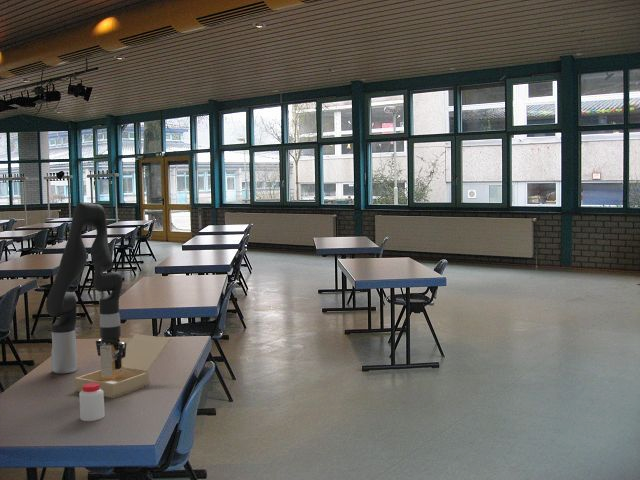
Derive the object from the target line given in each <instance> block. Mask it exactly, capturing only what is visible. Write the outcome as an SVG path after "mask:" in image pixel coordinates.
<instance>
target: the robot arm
mask: <svg viewBox="0 0 640 480" xmlns="http://www.w3.org/2000/svg"><path fill="white" fill-rule="evenodd" d="M84 227H91V228H95V230H96V236H95V238H94V240H93V242H92V245H91V249H90V256H91V259H92V265H93V271H94V273H93V275H94V276H93V283H92V284H93V289H95V290H96V291H97V292H98V293H99V292H110V294H109V295H107V296H105V297H101V298H100V299H99V305H98V306H99V307H98V308H99V318H98V319H99V337H100V338H101V339H98V340H95V345H96V350H97V351H96V352H97V356H98V357H101V355H100V346H102V345H106V344H108V345H114V349H115V350H117V349H118V351H113V352H114V356H115V369H117V370H118V369H120V368H121V359H122V358H124V357H125V354H126V346H127V342H126V341H125V342H122V341H121V339H120V337H121V335H122V334H121V333H122V332H121V331H122V330H121V316H120V305H119V304H120V302H119V301H120V294H121V292H122V291H121V290H122V286H123V283H124V282H123V276H122V274H121V273H120V272H118V271H110V272H107V271H109V270H111V269H112V268H113V266H114V261H113V258H112V254H111V251H110V250H111V249H110V246H109V241H108V237H109V236H108V226H107V215H106V210H105V208H104V206H103V205H101V204H98V203H89V202H79V203H77V204H76V206H75V208H74V210H73V214H72V219H71V223H70V228H69V232H68V233H69V234H68V237H67V240H66V244H65V247H64V250H63V251H62V252H63V253H62V256H61V259H60V261H59V262H60V263H59V266H58V270H57V272H56V276H55V279H54V281H53V284H52V285H51V288H50V290H49V292H48V295H47V297H46V300H45V309H46V310H45V311H46V313H47V314H48V315H49V316H51V317H58V316H59V318H58V320H56V321H55V322H54V323H52V325H51V342H52V348H51V350H50V354H51V355H50V356H51V372H53V373H55V374H58V375H59V374H69V373H75V372H76V371H77V370H78V363H77V361H78V360H77V342H76V337H77V336H76V324H77V309H78V308H77V300H76V296H75V295H74V293H72V292H70V291H68V290H69V288H70V286H71V285H72V284H73V283H75V281H76V279H77V278H78V277H79V276H80V274H81V273H82V272H83V270H84V267H85V264H86V261H87V258H88V254H87V253H88V252H87V249H86V247H85V244H84V242H83V239H82V238H83V237H82V231H83V229H84ZM117 354H118V356H117Z"/></svg>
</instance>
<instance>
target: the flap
mask: <svg viewBox="0 0 640 480" xmlns="http://www.w3.org/2000/svg"><path fill="white" fill-rule="evenodd" d="M171 340H172V338H171V337H163V336H155V335H147V334H140V333H135V334H134V335H133V337H132V338H131V339H130V341H129V342H128V343H127V344H126V354H125V357H124V358H122V368H123V369H130V370H136V371H143V372H148V373H149V370H150V369H151V368H152V366H153V365H154V363H155V362H156V361H157V359H158V358H159V356H160V355H161V354H162V353H163V351H164V350H165V348H166V347H167V346H168V344H169V343H170V342H171Z"/></svg>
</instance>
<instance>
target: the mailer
mask: <svg viewBox="0 0 640 480" xmlns="http://www.w3.org/2000/svg"><path fill="white" fill-rule="evenodd" d="M122 369H123V374H122V375H120V376H118V377H116V378H115V379H113V380H102V376H101V369H100V370H99V369H98V370H96V371H94V372H93V371H92V372H90V373H86V374H84V375H80V376H76V377H75V378H74V383H75V384H74V386H75V391H76V392H79V393H80V392H81V391H82V390H83V388H82V386H83V385H84V384H87V383H99V384H100V388H101V389H102V390H103V391H104V397H105V396H106V398H110V397H111V398H110V399H115V397H116V398H118V397H120V395H121V396H123V394H124V395H125V394H128V393H131V391H132V392H134V391H137V390H140V389H142V388H145V387H148V386H149V385H150V380H149V376H150V375H149V371H148V372H145V371H138V370H132V369H126V368H122ZM147 385H148V386H147ZM144 386H145V387H144ZM139 388H140V389H139Z"/></svg>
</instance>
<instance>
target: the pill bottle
mask: <svg viewBox="0 0 640 480" xmlns="http://www.w3.org/2000/svg"><path fill="white" fill-rule="evenodd" d="M82 388H83V390H82V391H81V392H79V395H78V397H79V399H78V400H79V416H80V420H81V421H83V422H93V421H94V422H95V421H98V420H99V421H100V420H101V419H103V418H105V413H106V412H105V396H104V391H103V390H102V389H101V388H100V384H99V383H87V384H84V385H83V386H82Z"/></svg>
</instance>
